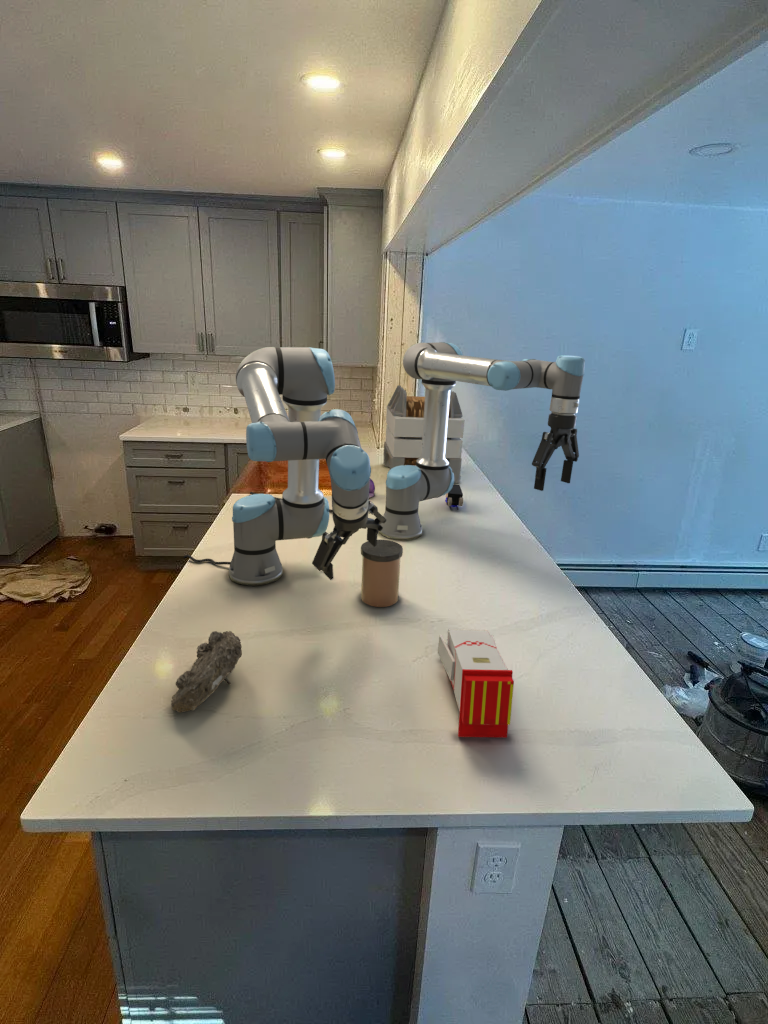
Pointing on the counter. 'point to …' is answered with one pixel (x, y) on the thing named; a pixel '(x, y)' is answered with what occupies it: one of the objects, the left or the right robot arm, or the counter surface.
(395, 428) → the white crate
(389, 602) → the jar
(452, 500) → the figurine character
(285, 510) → the left robot arm
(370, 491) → the figurine
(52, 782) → the counter surface
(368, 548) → the lid
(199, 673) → the fossil
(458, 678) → the toy
